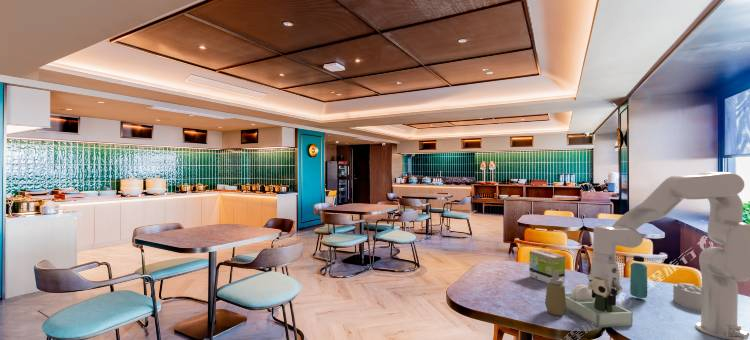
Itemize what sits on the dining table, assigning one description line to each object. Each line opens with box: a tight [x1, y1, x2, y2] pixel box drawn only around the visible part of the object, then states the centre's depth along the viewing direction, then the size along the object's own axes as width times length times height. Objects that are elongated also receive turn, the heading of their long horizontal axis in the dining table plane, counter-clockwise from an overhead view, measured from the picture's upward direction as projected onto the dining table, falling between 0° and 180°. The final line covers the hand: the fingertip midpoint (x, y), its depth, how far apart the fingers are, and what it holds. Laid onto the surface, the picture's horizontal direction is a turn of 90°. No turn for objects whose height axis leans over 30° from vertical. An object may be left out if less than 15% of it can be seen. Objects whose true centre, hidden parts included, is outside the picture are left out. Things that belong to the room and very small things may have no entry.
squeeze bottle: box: [544, 270, 567, 317], centre depth 143 cm, size 8×8×18 cm
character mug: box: [587, 277, 613, 312], centre depth 137 cm, size 11×7×13 cm, turn 74°
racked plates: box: [571, 284, 595, 301], centre depth 148 cm, size 3×9×9 cm, turn 98°
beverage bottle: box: [629, 255, 649, 299], centre depth 160 cm, size 6×7×20 cm
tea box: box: [528, 249, 566, 284], centre depth 186 cm, size 15×10×15 cm, turn 25°
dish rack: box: [565, 292, 634, 329], centre depth 142 cm, size 22×15×5 cm
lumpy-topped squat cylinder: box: [672, 282, 702, 311], centre depth 154 cm, size 10×13×9 cm
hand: (603, 301), depth 137 cm, fingers closed on character mug, 7 cm apart
